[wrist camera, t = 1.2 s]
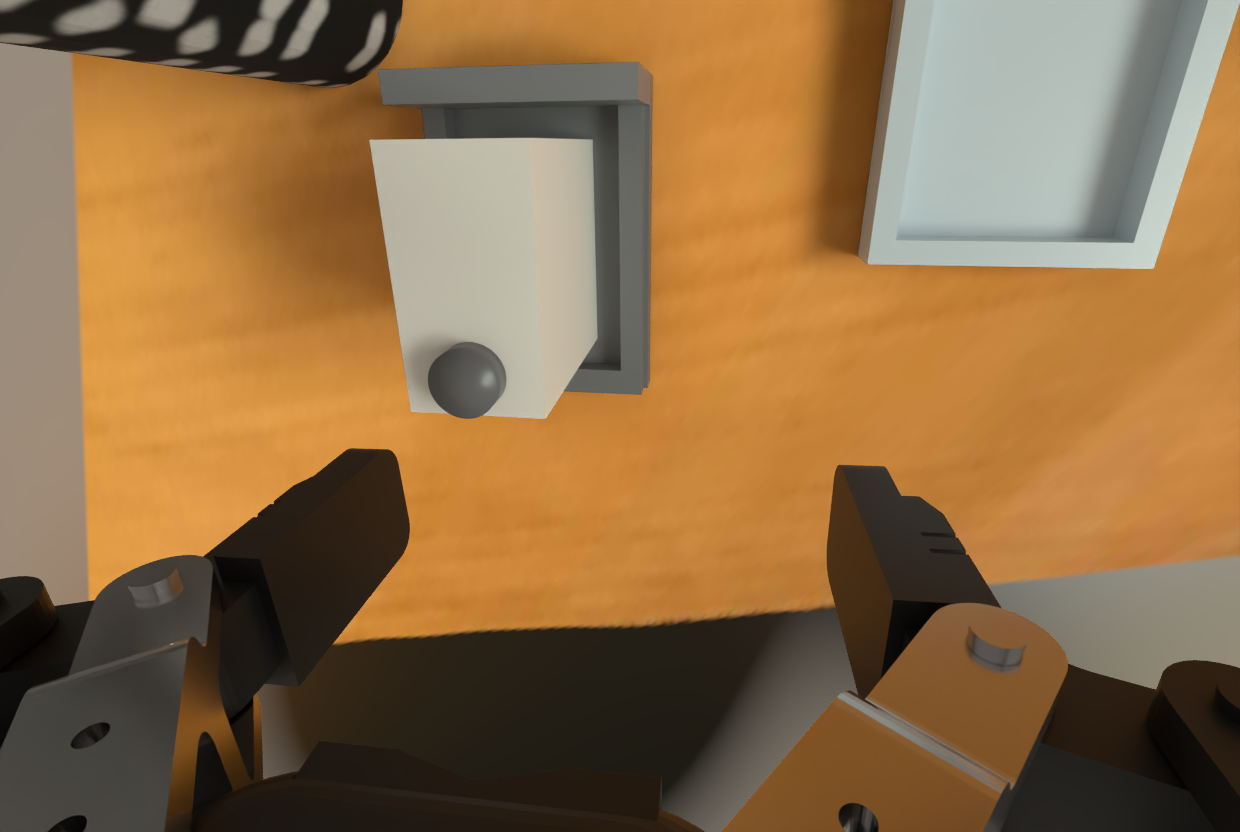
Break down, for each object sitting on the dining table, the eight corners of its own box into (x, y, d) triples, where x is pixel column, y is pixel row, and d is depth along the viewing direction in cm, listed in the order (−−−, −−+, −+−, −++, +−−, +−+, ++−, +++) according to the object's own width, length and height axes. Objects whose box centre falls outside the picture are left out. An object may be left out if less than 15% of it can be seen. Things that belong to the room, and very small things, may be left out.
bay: (432, 81, 28) (377, 69, 24) (652, 75, 27) (638, 61, 23) (465, 372, 34) (426, 408, 30) (649, 381, 33) (637, 419, 28)
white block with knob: (483, 140, 28) (351, 139, 18) (592, 139, 27) (518, 137, 18) (500, 334, 32) (398, 422, 22) (597, 338, 31) (537, 430, 21)
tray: (916, -167, 23) (933, -195, 21) (1260, -193, 21) (1313, -226, 19) (857, 256, 29) (867, 264, 27) (1123, 259, 27) (1153, 268, 25)
